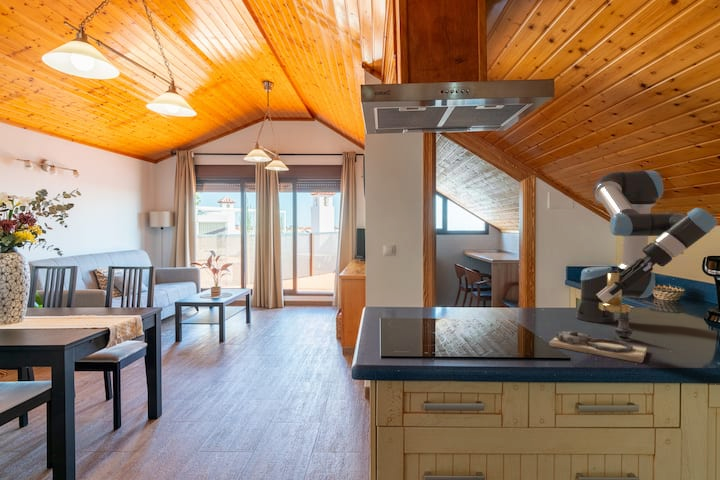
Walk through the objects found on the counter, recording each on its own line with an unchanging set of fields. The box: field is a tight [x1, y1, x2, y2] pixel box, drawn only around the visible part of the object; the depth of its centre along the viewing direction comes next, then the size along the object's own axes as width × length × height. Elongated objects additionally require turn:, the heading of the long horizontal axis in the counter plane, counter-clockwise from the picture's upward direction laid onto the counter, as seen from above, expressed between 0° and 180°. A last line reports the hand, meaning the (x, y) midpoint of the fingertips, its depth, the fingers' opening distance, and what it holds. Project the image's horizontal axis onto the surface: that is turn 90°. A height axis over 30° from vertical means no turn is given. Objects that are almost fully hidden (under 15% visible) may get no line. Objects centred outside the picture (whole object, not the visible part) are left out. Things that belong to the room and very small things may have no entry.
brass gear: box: [599, 273, 631, 313], centre depth 128 cm, size 9×9×12 cm
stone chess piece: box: [613, 312, 634, 342], centre depth 143 cm, size 6×6×12 cm
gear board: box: [548, 330, 648, 364], centre depth 131 cm, size 14×26×4 cm, turn 49°
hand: (600, 298), depth 130 cm, fingers closed on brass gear, 4 cm apart
